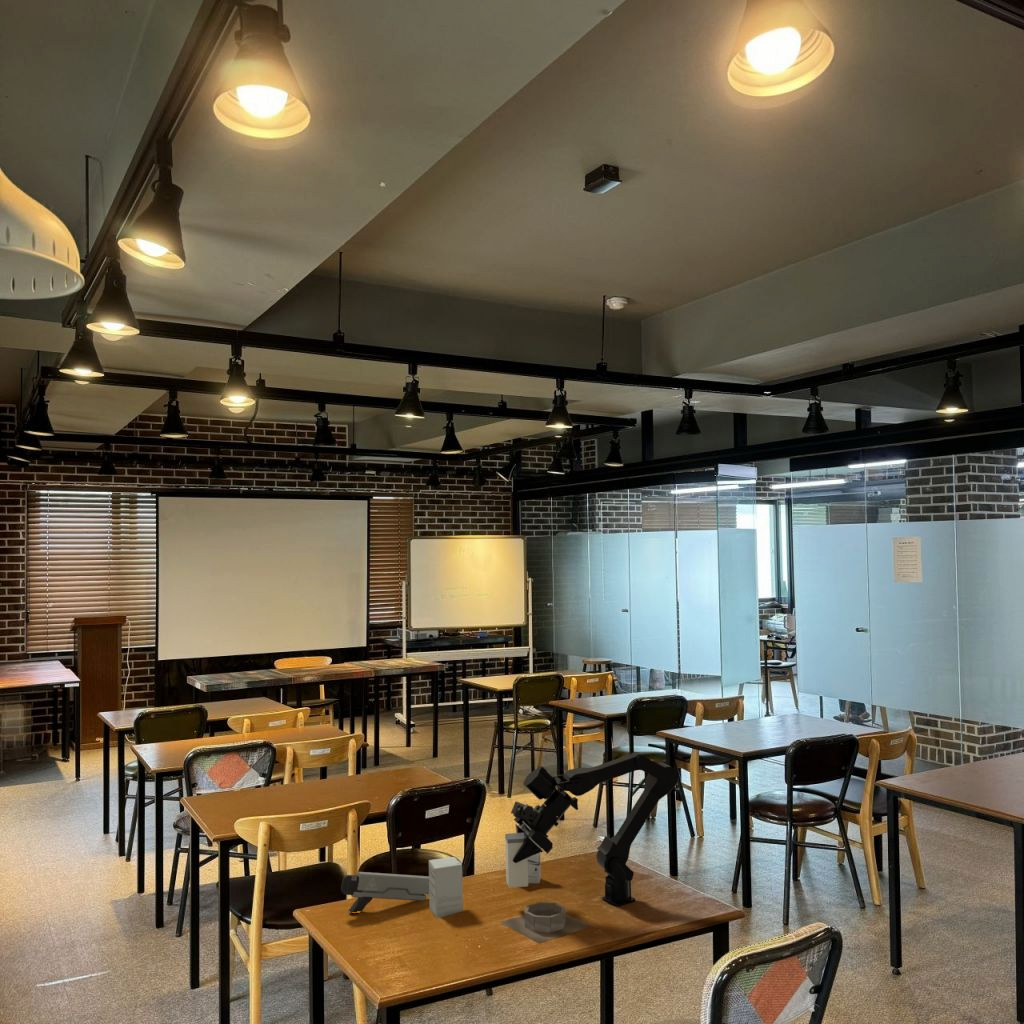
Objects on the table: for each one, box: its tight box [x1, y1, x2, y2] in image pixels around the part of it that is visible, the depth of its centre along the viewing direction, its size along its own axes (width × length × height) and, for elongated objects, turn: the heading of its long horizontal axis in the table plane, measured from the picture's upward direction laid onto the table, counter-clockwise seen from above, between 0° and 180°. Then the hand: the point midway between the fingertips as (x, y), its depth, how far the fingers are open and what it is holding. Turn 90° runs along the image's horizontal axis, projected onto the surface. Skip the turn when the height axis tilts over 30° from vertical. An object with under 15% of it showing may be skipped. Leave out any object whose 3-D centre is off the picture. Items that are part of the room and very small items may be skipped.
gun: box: [340, 871, 429, 913], centre depth 232 cm, size 2×25×10 cm, turn 117°
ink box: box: [528, 852, 542, 884], centre depth 250 cm, size 9×5×12 cm, turn 84°
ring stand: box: [499, 901, 592, 944], centre depth 215 cm, size 16×16×5 cm
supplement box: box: [428, 856, 464, 919], centre depth 228 cm, size 7×7×13 cm
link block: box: [504, 832, 529, 889], centre depth 227 cm, size 5×5×12 cm
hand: (511, 858), depth 227 cm, fingers closed on link block, 5 cm apart
